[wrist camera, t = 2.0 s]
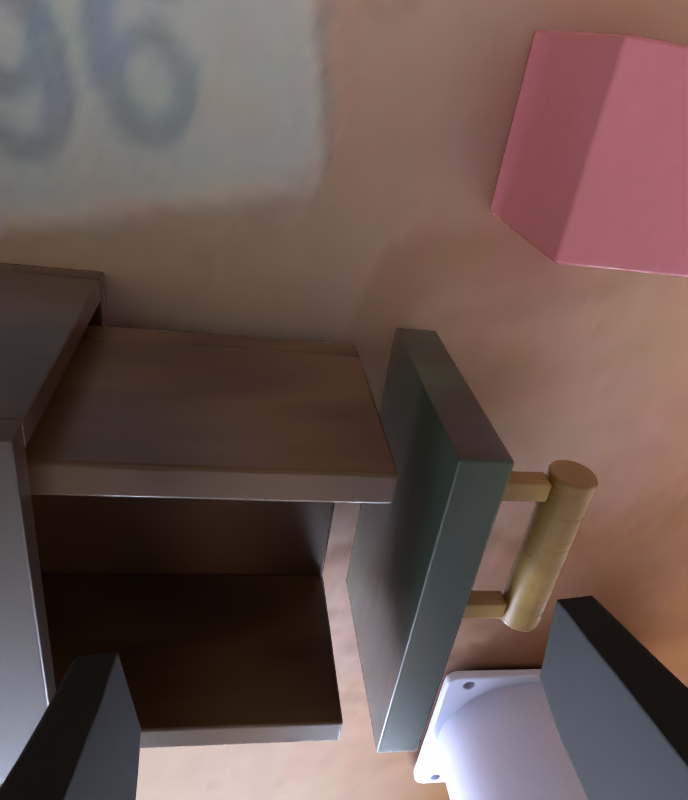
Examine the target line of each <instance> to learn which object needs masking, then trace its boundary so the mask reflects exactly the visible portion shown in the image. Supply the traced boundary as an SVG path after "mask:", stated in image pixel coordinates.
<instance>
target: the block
mask: <svg viewBox="0 0 688 800" xmlns="http://www.w3.org/2000/svg"><path fill="white" fill-rule="evenodd" d="M491 212H492V213H493V214H494V215H495V216H497V217H498V218H499V219H500V220H502V221H503V222H504V223H505V224H507V225H508V226H509V227H510V228H512V229H513V230H514V231H515V232H517V233H518V234H519V235H520V236H522V237H523V238H524V239H525V240H527V241H528V242H529V243H530V244H532V245H533V246H534V247H535V248H537V249H538V250H539V251H540V252H542V253H543V254H544V255H545V256H547V257H548V258H549V259H550V260H552V261H553V262H554V263H556V264H566V265H576V266H585V267H595V268H605V269H615V270H624V271H634V272H644V273H654V274H663V275H673V276H683V277H688V45H685V44H679V43H674V42H668V41H662V40H657V39H651V38H646V37H640V36H634V35H629V34H610V33H590V32H570V31H550V30H538V31H536V32H535V35H534V39H533V43H532V47H531V51H530V54H529V58H528V62H527V66H526V70H525V74H524V78H523V82H522V86H521V90H520V94H519V98H518V102H517V106H516V110H515V114H514V118H513V122H512V126H511V130H510V134H509V138H508V142H507V146H506V150H505V154H504V158H503V162H502V166H501V170H500V174H499V177H498V181H497V185H496V189H495V193H494V197H493V201H492V205H491Z"/></svg>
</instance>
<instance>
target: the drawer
mask: <svg viewBox="0 0 688 800" xmlns="http://www.w3.org/2000/svg"><path fill="white" fill-rule="evenodd" d="M25 452H26V460H27V468H28V475H29V483H30V491H31V499H32V507H33V515H34V522H35V530H36V538H37V546H38V554H39V561H40V569H41V577H42V585H43V593H44V600H45V608H46V616H47V624H48V632H49V639H50V647H51V655H52V663H53V671H54V678H55V686H56V691H57V689H58V687H59V685H60V684H61V682H62V680H63V678H64V676H65V674H66V672H67V670H68V668H69V667H70V665H71V663H72V662H73V661H74V660H75V659H76V658H77V657H79V656H88V655H96V654H104V653H113V652H118V655H119V659H120V662H121V665H122V668H123V672H124V675H125V678H126V681H127V685H128V688H129V691H130V695H131V698H132V701H133V704H134V708H135V711H136V714H137V718H138V721H139V724H140V727H141V738H140V748H159V747H183V746H206V745H229V744H253V743H276V742H299V741H323V740H338V739H339V736H340V732H341V727H342V723H343V721H342V713H341V706H340V699H339V691H338V684H337V677H336V670H335V662H334V655H333V648H332V640H331V633H330V626H329V618H328V611H327V604H326V597H325V589H324V582H323V577H322V574H323V568H324V562H325V556H326V550H327V544H328V538H329V533H330V527H331V521H332V515H333V509H334V503H335V502H336V503H361V508H360V513H359V518H358V523H357V528H356V533H355V538H354V543H353V548H352V553H351V558H350V563H349V569H348V574H347V579H346V582H347V588H348V593H349V599H350V605H351V610H352V616H353V621H354V627H355V633H356V638H357V644H358V650H359V655H360V661H361V666H362V672H363V678H364V683H365V689H366V695H367V700H368V706H369V711H370V717H371V723H372V728H373V734H374V740H375V745H376V751H377V752H378V753H382V752H404V751H417V750H418V748H419V745H420V742H421V739H422V736H423V733H424V730H425V727H426V724H427V721H428V718H429V715H430V712H431V709H432V706H433V703H434V700H435V697H436V694H437V691H438V688H439V685H440V683H441V680H442V677H443V674H444V671H445V668H446V665H447V662H448V659H449V656H450V653H451V650H452V647H453V644H454V641H455V638H456V635H457V632H458V629H459V626H460V623H461V620H462V618H500V619H501V620H502V621H503V622H504V623H505V624H506V625H507V626H509V627H510V628H512V629H514V630H517V631H522V632H527V631H531V630H533V629H535V628H536V627H537V626H538V624H539V622H540V619H541V617H542V615H543V612H544V610H545V607H546V605H547V603H548V600H549V598H550V596H551V593H552V591H553V589H554V586H555V584H556V581H557V579H558V577H559V574H560V572H561V570H562V567H563V565H564V563H565V560H566V558H567V556H568V553H569V551H570V548H571V546H572V544H573V541H574V539H575V537H576V534H577V532H578V530H579V527H580V525H581V522H582V520H583V518H584V515H585V513H586V511H587V508H588V506H589V504H590V501H591V499H592V496H593V494H594V492H595V489H596V487H597V484H598V481H597V477H596V475H595V474H594V473H593V472H592V471H591V470H590V469H588V468H587V467H585V466H583V465H581V464H579V463H576V462H573V461H569V460H557V461H554V462H552V463H551V464H550V465H549V468H548V470H547V473H546V475H545V474H544V473H542V472H517V471H512V468H513V465H514V461H513V459H512V458H511V456H510V454H509V453H508V451H507V449H506V448H505V446H504V444H503V443H502V441H501V439H500V438H499V436H498V434H497V433H496V431H495V429H494V428H493V426H492V424H491V423H490V421H489V419H488V418H487V416H486V414H485V413H484V411H483V409H482V408H481V406H480V404H479V403H478V401H477V399H476V398H475V396H474V394H473V393H472V391H471V389H470V388H469V386H468V384H467V383H466V381H465V379H464V378H463V376H462V374H461V373H460V371H459V369H458V368H457V366H456V364H455V363H454V361H453V359H452V358H451V356H450V354H449V353H448V351H447V349H446V348H445V346H444V344H443V343H442V341H441V339H440V338H439V336H438V334H437V333H436V331H429V330H416V329H404V328H396V331H395V336H394V341H393V346H392V351H391V356H390V361H389V366H388V371H387V376H386V381H385V386H384V391H383V396H382V402H381V407H380V412H379V414H378V411H377V408H376V405H375V402H374V399H373V396H372V393H371V390H370V387H369V384H368V381H367V378H366V375H365V372H364V369H363V366H362V363H361V360H360V358H359V355H358V352H357V349H356V346H355V345H353V344H340V343H326V342H313V341H299V340H285V339H271V338H257V337H244V336H230V335H216V334H202V333H189V332H175V331H161V330H147V329H133V328H120V327H106V326H92V325H88V326H87V328H86V330H85V332H84V334H83V336H82V338H81V340H80V342H79V344H78V346H77V348H76V350H75V352H74V353H73V355H72V357H71V359H70V361H69V363H68V365H67V367H66V369H65V371H64V373H63V375H62V377H61V379H60V381H59V383H58V385H57V387H56V389H55V391H54V393H53V395H52V397H51V399H50V401H49V403H48V405H47V406H46V408H45V410H44V412H43V414H42V416H41V418H40V420H39V422H38V424H37V426H36V428H35V430H34V432H33V434H32V436H31V438H30V440H29V442H28V444H27V446H26V447H25ZM501 501H535V502H536V503H535V505H534V508H533V511H532V514H531V516H530V519H529V522H528V524H527V527H526V530H525V532H524V535H523V538H522V541H521V543H520V546H519V549H518V551H517V554H516V557H515V560H514V562H513V565H512V568H511V570H510V573H509V576H508V578H507V581H506V584H505V587H504V589H503V592H502V593H501V591H471V590H472V587H473V584H474V581H475V578H476V575H477V572H478V569H479V566H480V563H481V560H482V557H483V554H484V551H485V548H486V545H487V542H488V539H489V536H490V533H491V530H492V527H493V524H494V521H495V519H496V516H497V513H498V510H499V507H500V504H501Z"/></svg>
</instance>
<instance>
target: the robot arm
mask: <svg viewBox="0 0 688 800" xmlns="http://www.w3.org/2000/svg"><path fill="white" fill-rule="evenodd" d="M140 738H141V727H140V724H139V721H138V718H137V714H136V711H135V708H134V704H133V701H132V698H131V695H130V691H129V688H128V685H127V681H126V678H125V675H124V672H123V668H122V665H121V662H120V659H119V655H118V652H113V653H104V654H96V655H88V656H79V657H77V658H76V659H75V660H74V661H73V662H72V663H71V665H70V667H69V668H68V670H67V672H66V674H65V676H64V678H63V680H62V682H61V684H60V685H59V687H58V689H57V691H56V693H55V695H54V696H53V698H52V700H51V702H50V704H49V706H48V707H47V709H46V711H45V713H44V714H43V716H42V718H41V720H40V722H39V723H38V725H37V727H36V729H35V730H34V732H33V734H32V735H31V737H30V739H29V741H28V742H27V744H26V746H25V747H24V749H23V751H22V753H21V754H20V756H19V758H18V759H17V761H16V763H15V764H14V766H13V767H12V769H11V771H10V772H9V774H8V776H7V777H6V779H5V780H4V782H3V784H2V785H1V787H0V800H135V799H136V788H137V776H138V765H139V751H140ZM414 778H415V780H416V781H417V782H419V783H433V782H446V785H447V789H448V793H449V797H450V800H688V688H687V687H686V686H685V685H684V684H683V683H682V682H681V681H680V680H679V679H678V678H676V677H675V676H674V675H673V674H672V673H671V672H670V671H669V670H668V669H667V668H666V667H665V666H664V665H663V664H662V663H661V662H660V661H659V660H658V659H657V658H656V657H654V656H653V655H652V654H651V653H650V652H649V651H648V650H647V649H646V648H645V647H644V646H643V645H642V644H641V643H640V642H639V641H638V640H637V639H636V638H635V637H634V636H633V635H632V634H631V633H630V632H629V631H628V630H627V629H626V628H625V627H624V626H623V625H622V624H621V623H620V622H619V621H618V620H617V619H616V618H615V617H613V616H612V615H611V614H610V613H609V612H608V611H607V610H606V609H605V608H604V607H603V606H602V605H601V604H600V603H599V602H598V601H597V600H596V599H595V598H594V597H593V596H585V597H576V598H568V599H559V600H557V603H556V607H555V612H554V616H553V620H552V625H551V629H550V634H549V638H548V643H547V647H546V652H545V656H544V660H543V665H542V669H516V670H473V671H454V672H451V673H450V674H448V675H447V676H446V678H445V680H444V683H443V686H442V689H441V692H440V695H439V698H438V701H437V704H436V706H435V709H434V712H433V715H432V718H431V721H430V724H429V727H428V730H427V733H426V736H425V739H424V742H423V745H422V748H421V751H420V754H419V757H418V760H417V762H416V765H415V768H414Z"/></svg>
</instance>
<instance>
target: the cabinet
mask: <svg viewBox="0 0 688 800" xmlns="http://www.w3.org/2000/svg"><path fill="white" fill-rule="evenodd" d="M88 325H92V326H106V305H105V283H104V274H103V273H102V272H93V271H82V270H70V269H59V268H47V267H36V266H24V265H13V264H2V263H0V787H1V785H2V784H3V782H4V780H5V779H6V777H7V776H8V774H9V772H10V771H11V769H12V767H13V766H14V764H15V763H16V761H17V759H18V758H19V756H20V754H21V753H22V751H23V749H24V747H25V746H26V744H27V742H28V741H29V739H30V737H31V735H32V734H33V732H34V730H35V729H36V727H37V725H38V723H39V722H40V720H41V718H42V716H43V714H44V713H45V711H46V709H47V707H48V706H49V704H50V702H51V700H52V698H53V696H54V695H55V693H56V686H55V678H54V671H53V663H52V655H51V647H50V639H49V632H48V624H47V616H46V608H45V600H44V593H43V585H42V577H41V569H40V561H39V554H38V546H37V538H36V530H35V522H34V515H33V507H32V499H31V491H30V483H29V475H28V468H27V460H26V452H25V447H26V446H27V444H28V442H29V440H30V438H31V436H32V434H33V432H34V430H35V428H36V426H37V424H38V422H39V420H40V418H41V416H42V414H43V412H44V410H45V408H46V406H47V405H48V403H49V401H50V399H51V397H52V395H53V393H54V391H55V389H56V387H57V385H58V383H59V381H60V379H61V377H62V375H63V373H64V371H65V369H66V367H67V365H68V363H69V361H70V359H71V357H72V355H73V353H74V352H75V350H76V348H77V346H78V344H79V342H80V340H81V338H82V336H83V334H84V332H85V330H86V328H87V326H88Z"/></svg>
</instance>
